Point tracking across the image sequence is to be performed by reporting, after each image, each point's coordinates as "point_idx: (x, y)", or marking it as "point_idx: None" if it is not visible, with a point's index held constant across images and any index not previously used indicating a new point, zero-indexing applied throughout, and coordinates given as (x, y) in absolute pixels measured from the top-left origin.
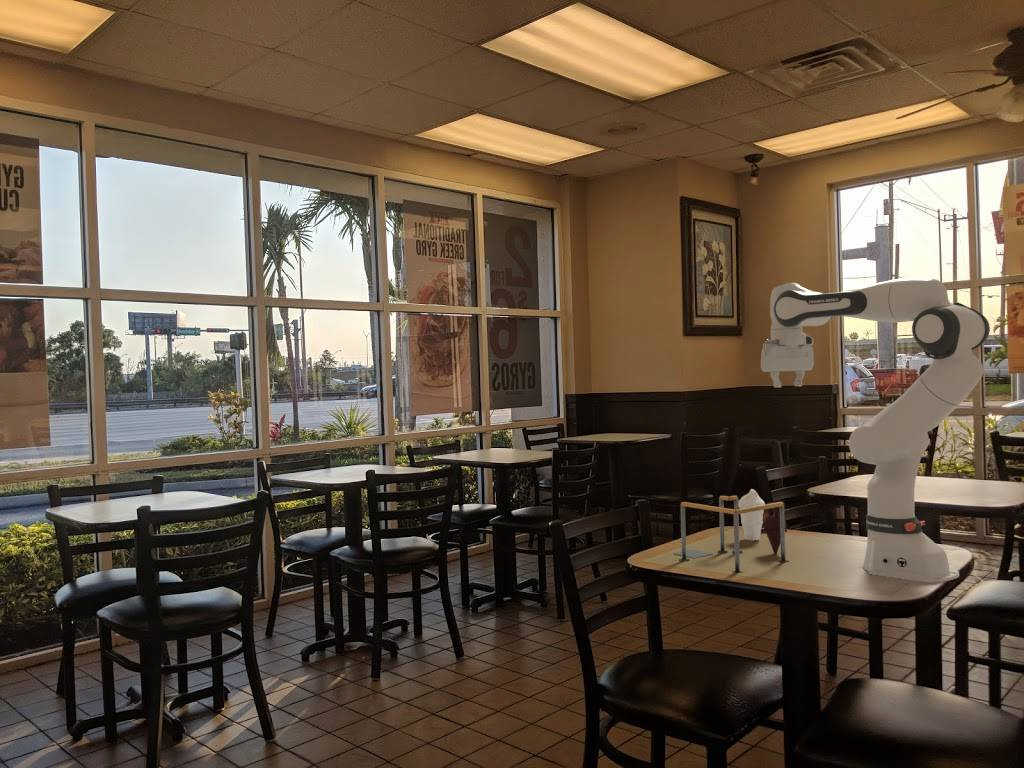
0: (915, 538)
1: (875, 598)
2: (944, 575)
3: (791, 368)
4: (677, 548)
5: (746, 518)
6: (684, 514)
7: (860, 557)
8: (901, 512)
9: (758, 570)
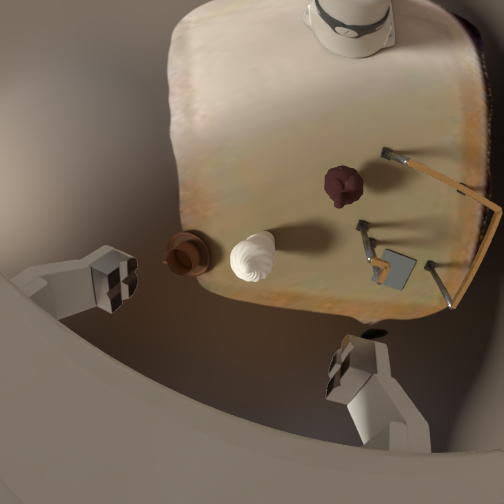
0: None
1: (464, 38)
2: None
3: (178, 418)
4: (365, 299)
5: (273, 255)
6: (449, 295)
7: (293, 77)
8: None
9: None
